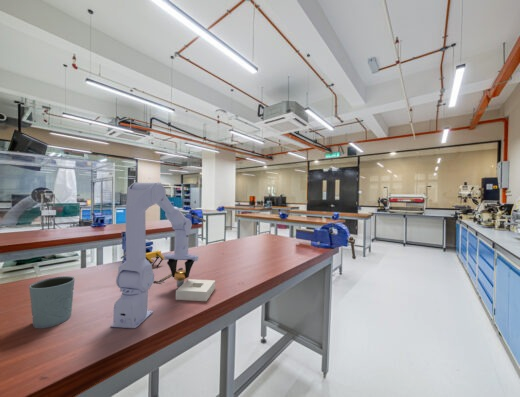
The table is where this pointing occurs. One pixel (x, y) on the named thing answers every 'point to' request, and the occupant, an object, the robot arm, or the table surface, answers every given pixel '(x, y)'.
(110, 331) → the table surface
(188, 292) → the pin block
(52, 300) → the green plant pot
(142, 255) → the robot arm
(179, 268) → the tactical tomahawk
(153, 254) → the robot dog
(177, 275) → the brass door knob
